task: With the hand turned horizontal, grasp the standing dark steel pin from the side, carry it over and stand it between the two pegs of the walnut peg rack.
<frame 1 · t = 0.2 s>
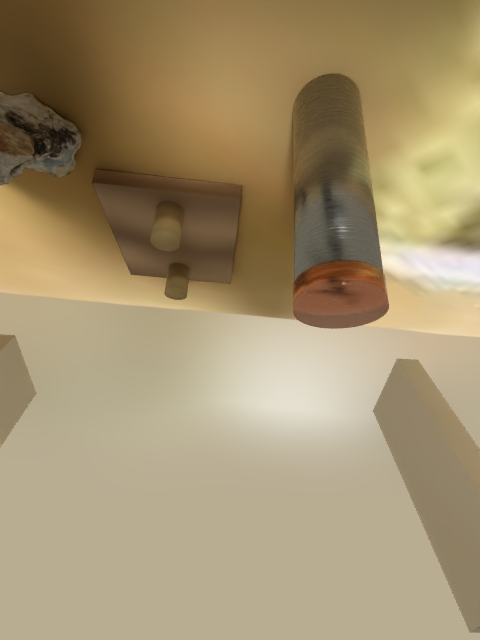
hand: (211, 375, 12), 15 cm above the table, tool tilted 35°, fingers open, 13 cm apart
pin: (326, 108, 18), on the table
peg rack: (177, 232, 28), on the table
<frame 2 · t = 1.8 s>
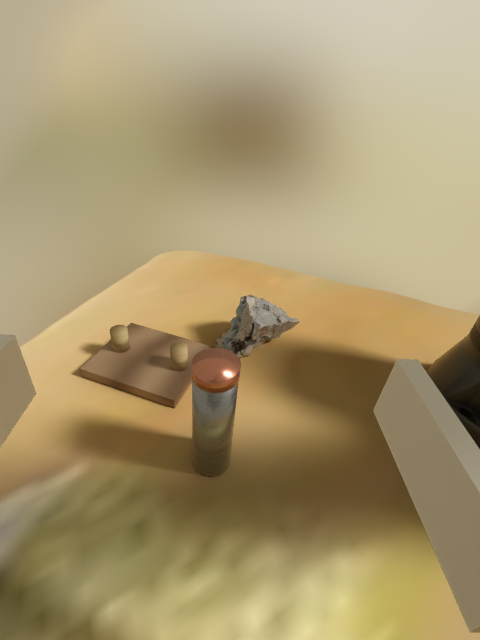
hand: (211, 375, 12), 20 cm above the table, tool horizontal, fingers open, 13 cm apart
pin: (211, 458, 31), on the table
mineral specimen: (255, 345, 46), on the table
peg rack: (150, 363, 41), on the table
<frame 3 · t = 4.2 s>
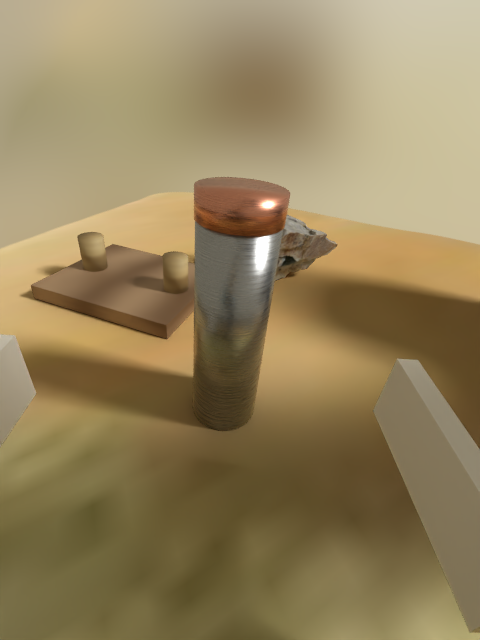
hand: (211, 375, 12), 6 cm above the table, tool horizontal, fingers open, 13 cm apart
pin: (223, 405, 19), on the table
mineral specimen: (274, 279, 34), on the table
peg rack: (135, 289, 29), on the table
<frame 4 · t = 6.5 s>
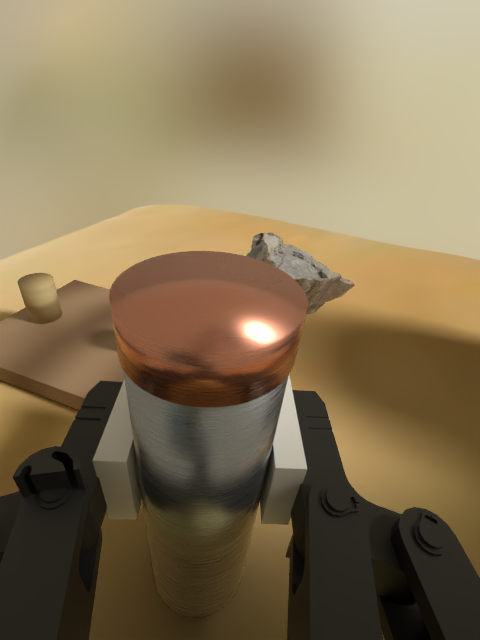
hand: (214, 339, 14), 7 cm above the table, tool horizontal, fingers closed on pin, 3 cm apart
pin: (199, 558, 13), on the table, touching gripper
mineral specimen: (275, 324, 27), on the table, touching peg rack
peg rack: (96, 344, 23), on the table
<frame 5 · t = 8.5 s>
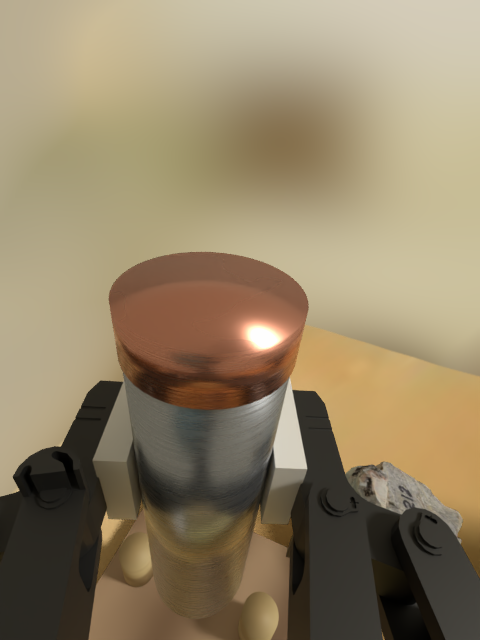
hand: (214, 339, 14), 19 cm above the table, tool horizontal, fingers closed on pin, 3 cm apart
pin: (199, 560, 13), point 12 cm above the table, touching gripper
mineral specimen: (369, 545, 25), on the table
peg rack: (194, 604, 21), on the table
when the fingers open (9 cm above the table, at t = 10.7 s): pin drops 1 cm, resting on peg rack.
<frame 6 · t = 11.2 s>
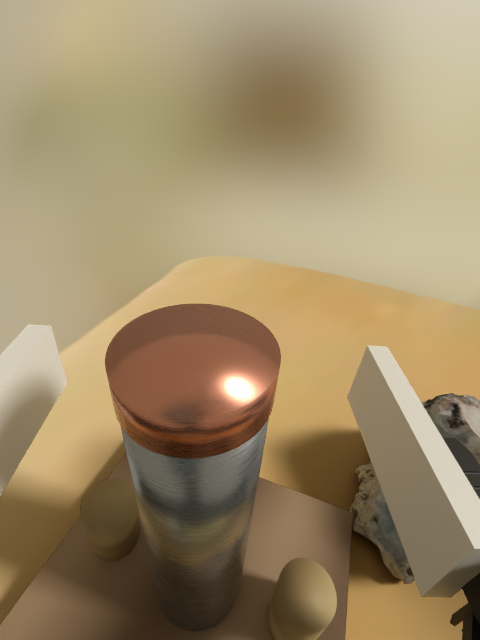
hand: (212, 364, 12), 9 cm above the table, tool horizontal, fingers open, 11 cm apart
pin: (199, 574, 14), point 1 cm above the table, touching peg rack
mineral specimen: (440, 511, 18), on the table
peg rack: (198, 584, 14), on the table
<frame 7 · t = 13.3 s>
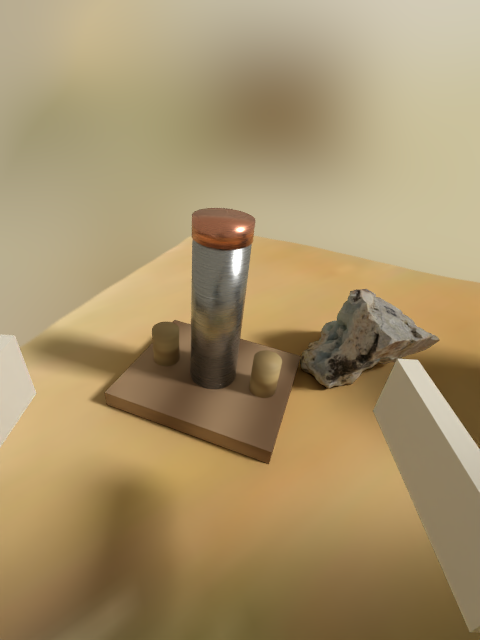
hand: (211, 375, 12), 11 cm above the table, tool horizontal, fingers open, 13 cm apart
pin: (213, 372, 25), point 1 cm above the table, touching peg rack
mineral specimen: (358, 368, 30), on the table
peg rack: (212, 383, 26), on the table
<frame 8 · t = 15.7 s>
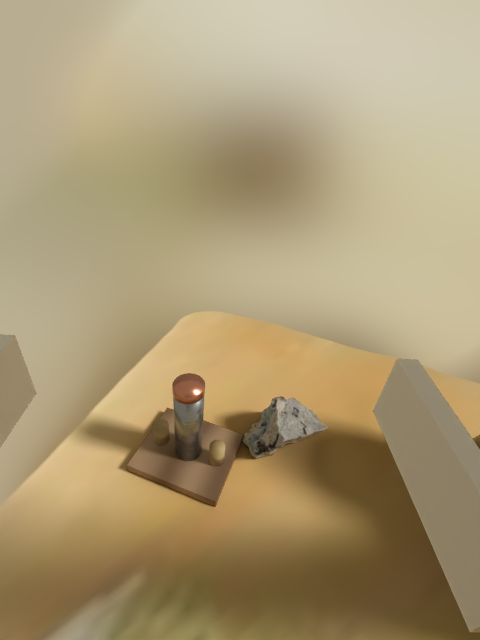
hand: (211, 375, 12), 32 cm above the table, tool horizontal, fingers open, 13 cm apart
pin: (188, 449, 44), point 1 cm above the table, touching peg rack
mineral specimen: (281, 441, 48), on the table
peg rack: (188, 454, 45), on the table
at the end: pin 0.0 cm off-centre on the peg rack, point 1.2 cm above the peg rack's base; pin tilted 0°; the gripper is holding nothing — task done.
